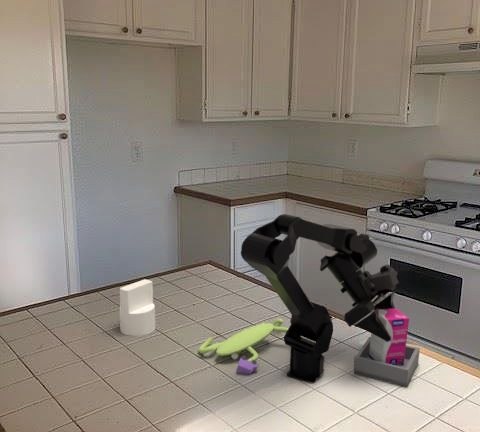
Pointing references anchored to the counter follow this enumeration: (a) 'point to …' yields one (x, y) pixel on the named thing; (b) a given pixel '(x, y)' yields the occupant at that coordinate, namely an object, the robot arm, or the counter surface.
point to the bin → (386, 366)
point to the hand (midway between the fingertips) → (395, 333)
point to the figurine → (244, 344)
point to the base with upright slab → (137, 308)
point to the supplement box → (396, 346)
